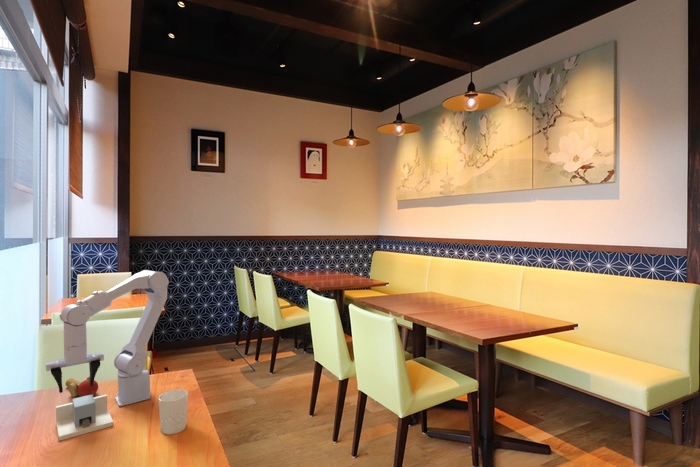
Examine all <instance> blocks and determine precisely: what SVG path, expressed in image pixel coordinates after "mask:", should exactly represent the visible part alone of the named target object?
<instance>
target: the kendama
mask: <svg viewBox="0 0 700 467" xmlns="http://www.w3.org/2000/svg"><path fill="white" fill-rule="evenodd" d="M89 377H90V376H88V377H87V378H86V379H85V380H83V381H81V382H80V381H79V380H76V379H74V378H68V379H67V380H66V381H65V386H66V387H67V388H68V391H69V394H70V395H71V397H72V398H77V397H78V396H79V397H83V396H87V395H93V396H95V395H96V394H97V392H98V390H99V384H98V382H97V380H95V379H94V382H93V386H90V384H89Z"/></svg>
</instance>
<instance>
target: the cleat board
mask: <svg viewBox="0 0 700 467" xmlns="http://www.w3.org/2000/svg"><path fill="white" fill-rule="evenodd" d="M93 398H94V400H95V412H96V423H91V420H90V417H87V418H83V419H79V427H77V428H75V425H74V421H73V402H68V403H64V404H62V405H56V406H55V416H56V417H55V420H56V421H55V423H56V429H57V430H56V431H57V437H58V441H65V440H67V439H71V438H75V437H78V436H80V435H81V436H82V435H85V434H88V433H92V432H95V431H99V430H102V429H103V430H104V429H106V428H109V427H113V426H114V420H113V418H112V416H111V414H110V411H109V409H108V394H103V395H102V394H101V395H99V396H95V397H94V396H93Z"/></svg>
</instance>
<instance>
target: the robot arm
mask: <svg viewBox="0 0 700 467" xmlns="http://www.w3.org/2000/svg"><path fill="white" fill-rule="evenodd" d="M169 283H170V281H169V278H168V277H167V275H166V274H165V272H162V271H154V270H150V269H143V270H141V271H139V272H137V273H134V274H133V275H131V276H130V277H129V278H127V279H125V280H124V281H121V282H120V283H119V284H117V285H116V286H114V287H112V288H110V289H108V290H107V291H104V290H99V291H97V290H95V291H93V292H92V293H91V295H89V296H87V297H86V298H84V299H82V300H81V299H78V300H77V301H76V304H75V303H73V304H68V305H66V306H64V307H63V309H62V310H61V312H60V314H59V320H60V321H62V322H63V358H62V359H59V360H54V361H50V362H45V371H46V372H50V374H51V376H52V378H54V380H55V382H56V384H57V387H58V392H59V393H60V394H62V393H63V392H64V391H63V389H64V388H63V379H62V378H63V376H62V375H63V372H62V368H66V367H73V366H77V365H78V366H79V365H83V364H88V366H89V376H88V377H89V384H90V386H93V382H94V380H95V377H96V375H97V372H98V370H99V368H100V367H101V362H103V361H104V360H105V354H104V352H99V353H90V354H88V350H87V349H88V348H87V347H88V345H87V343H88V342H87V323H88V321H89V320H90V318H91V317H92V316H95V315H97V314H98V313H99V312H101V311H103V310H105V309H107V308H109V307H111V305H112V302H113V301H114V300H116V299H118V298H119V297H120V298H121V297H122V296H124V295H126V294H128V293H130V292H131V291H135V289H142V290H143V291H145V293H146V295H147V297H148V301H147V303H146V305H145V306H144V307H145V308H144V310H143V311H142V313H141V316H140V318H139V321H138V323H137V325H136V327H135V329H134V331H133V334H132V336H131V337H130V340H129V342H128V343H126V344H125V345H124V346H123V347H122V349H121V351H120V352H119V353H118V354H117V355H116V356H115V358H114V360H113V361H114V362H113V365H114V367H115V369H117V396H115V397H114V399H115V401H116V403H117V405H118V406H119V407H123V406H127V405H131V404H134V403H139V402H141V401H146V400H150V399H151V398H152V397H151V378H150V377H151V376H150V372H149V370H148V369H145V368H146V364H147V362H146V361H147V356H148V351H147V345H148V344H149V341H150V338H151V336H152V334H153V332H154V329H155V327H156V325H157V322H158V320H159V318H160V316H161V313H162V311H163V309H164V307H165V305H166V302H167V300H168V286H169Z"/></svg>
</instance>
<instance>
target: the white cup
mask: <svg viewBox="0 0 700 467" xmlns="http://www.w3.org/2000/svg"><path fill="white" fill-rule="evenodd" d="M188 392H189V391H187V390H186V389H180V388H178V389H170V390H167V391H165V392H162V393H161V394H159V396H158V400H157V401H158V412H159V422H160V432H161V433H162V434H163V435H176V434H178V433H181V432H183V431H184V430H185V429H186V428H187V418H188V406H189V405H188V404H189V403H188V402H189V401H188V400H189V393H188Z"/></svg>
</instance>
